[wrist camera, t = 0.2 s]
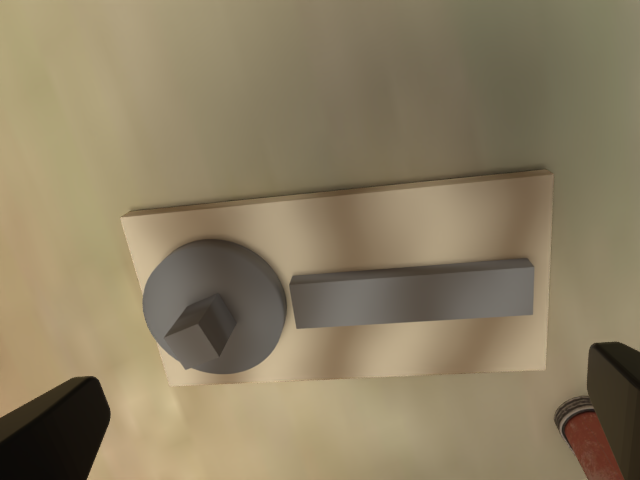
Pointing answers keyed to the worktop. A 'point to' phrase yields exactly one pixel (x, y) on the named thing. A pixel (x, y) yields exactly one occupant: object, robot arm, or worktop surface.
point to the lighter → (587, 439)
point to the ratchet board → (350, 281)
